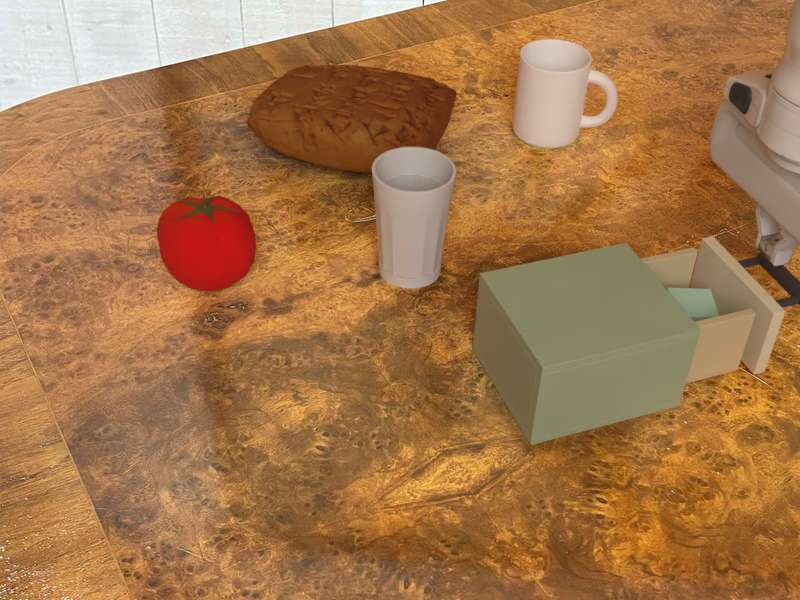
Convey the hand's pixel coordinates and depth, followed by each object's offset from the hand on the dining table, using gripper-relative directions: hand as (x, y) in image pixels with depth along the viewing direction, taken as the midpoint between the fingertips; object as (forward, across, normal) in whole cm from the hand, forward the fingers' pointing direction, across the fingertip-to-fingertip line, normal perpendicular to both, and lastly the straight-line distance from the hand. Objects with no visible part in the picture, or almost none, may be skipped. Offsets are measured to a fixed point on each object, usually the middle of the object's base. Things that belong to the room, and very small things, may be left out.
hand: (770, 255), depth 96 cm
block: (+8, 0, +7) cm, 10 cm away
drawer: (+9, 0, +6) cm, 11 cm away
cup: (+10, +19, +27) cm, 35 cm away
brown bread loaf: (+10, +42, +26) cm, 51 cm away
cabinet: (+10, 0, +18) cm, 21 cm away
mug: (+10, +38, 0) cm, 39 cm away
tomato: (+10, +25, +46) cm, 54 cm away
